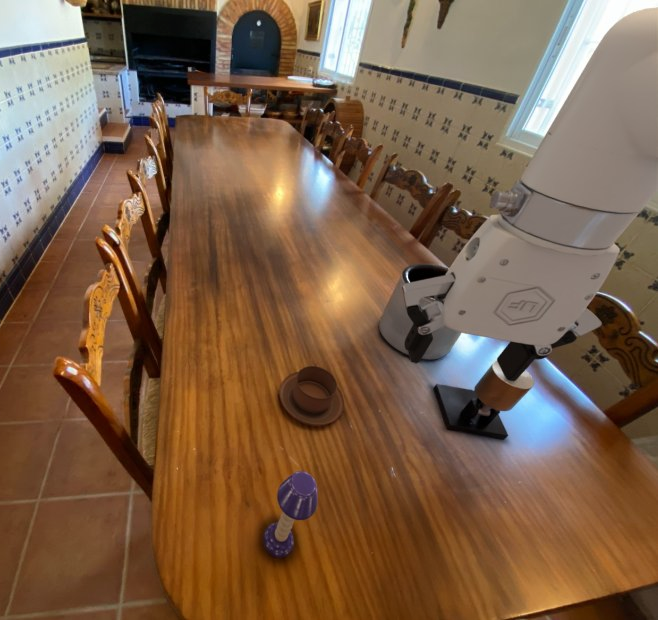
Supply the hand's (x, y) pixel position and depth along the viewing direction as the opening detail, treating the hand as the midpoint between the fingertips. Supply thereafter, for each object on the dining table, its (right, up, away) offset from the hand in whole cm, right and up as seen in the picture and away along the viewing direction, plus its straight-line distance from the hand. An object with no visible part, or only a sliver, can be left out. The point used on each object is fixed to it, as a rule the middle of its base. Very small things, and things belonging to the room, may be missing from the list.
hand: (457, 362), depth 39 cm
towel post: (+20, -13, +26) cm, 35 cm away
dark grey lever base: (+20, -14, +30) cm, 38 cm away
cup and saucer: (-10, -12, +29) cm, 33 cm away
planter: (+18, -1, +45) cm, 49 cm away
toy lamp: (-18, -26, +11) cm, 34 cm away
